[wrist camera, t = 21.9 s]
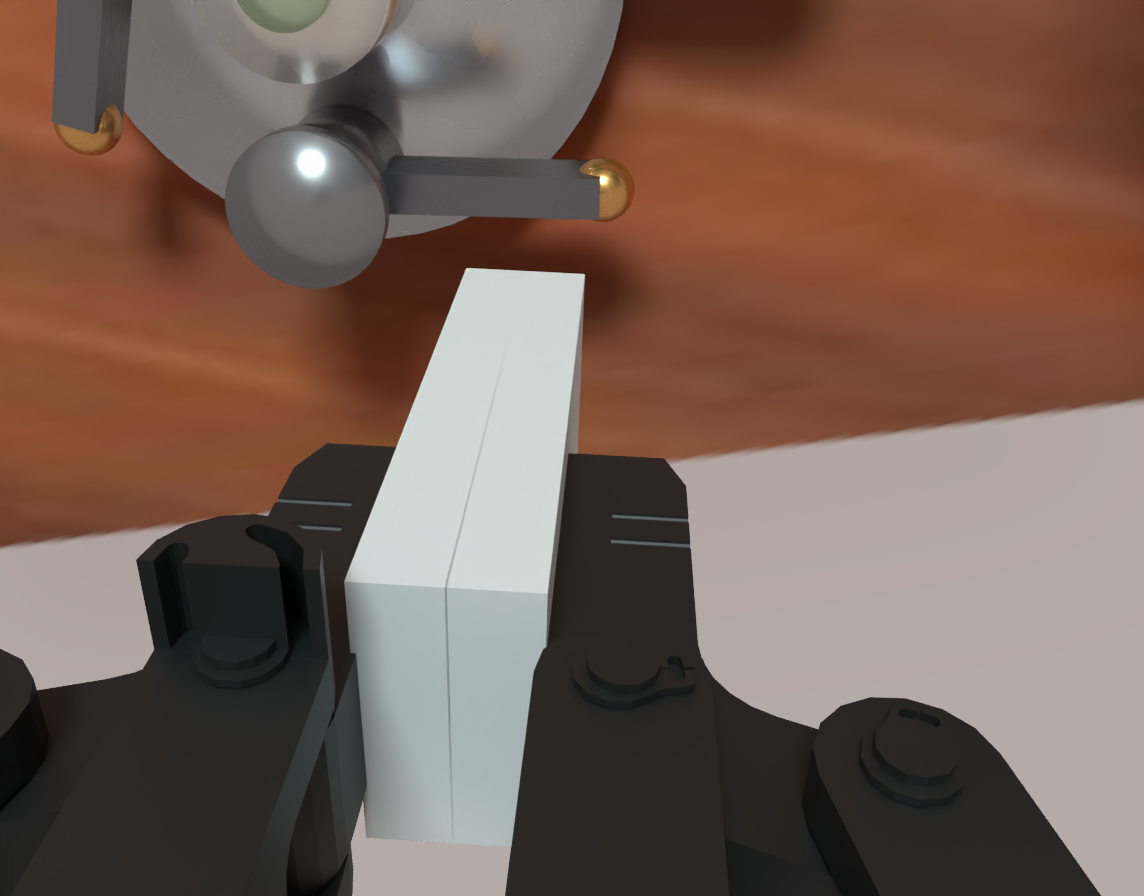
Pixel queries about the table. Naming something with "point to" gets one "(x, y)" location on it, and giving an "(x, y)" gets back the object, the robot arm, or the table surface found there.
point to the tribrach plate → (365, 75)
